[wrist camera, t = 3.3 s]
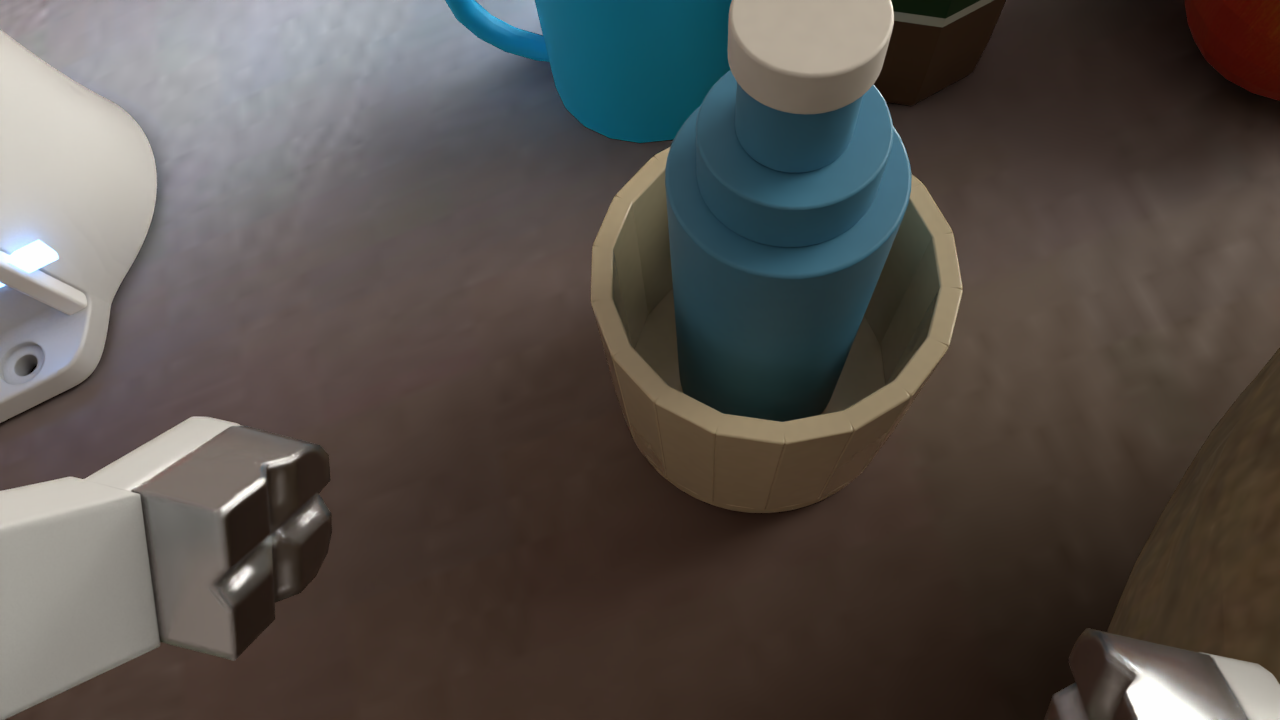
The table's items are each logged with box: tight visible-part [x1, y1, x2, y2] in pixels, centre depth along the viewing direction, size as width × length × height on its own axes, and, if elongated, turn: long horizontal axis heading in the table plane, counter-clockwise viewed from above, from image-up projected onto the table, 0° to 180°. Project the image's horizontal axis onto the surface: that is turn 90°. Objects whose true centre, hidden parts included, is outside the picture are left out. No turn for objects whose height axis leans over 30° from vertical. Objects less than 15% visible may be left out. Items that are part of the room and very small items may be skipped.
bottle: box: [665, 0, 912, 422], centre depth 21 cm, size 5×5×16 cm
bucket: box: [591, 147, 963, 513], centre depth 26 cm, size 10×10×8 cm
